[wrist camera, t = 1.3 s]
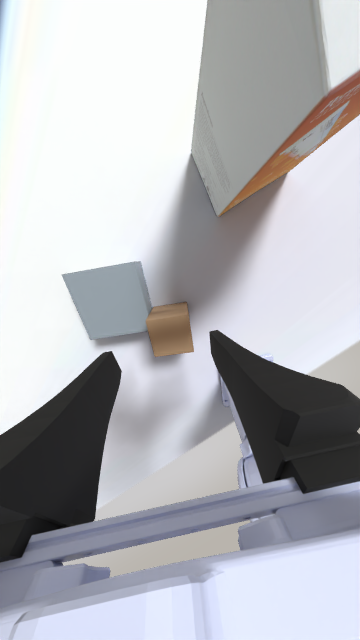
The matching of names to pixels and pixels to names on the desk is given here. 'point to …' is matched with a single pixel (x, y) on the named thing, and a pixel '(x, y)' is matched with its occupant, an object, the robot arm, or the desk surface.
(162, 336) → the walnut block
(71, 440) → the robot arm
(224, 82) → the small box
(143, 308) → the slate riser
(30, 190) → the desk surface
